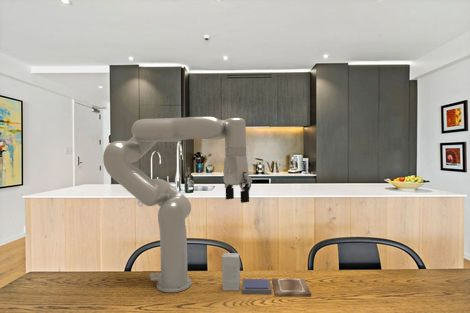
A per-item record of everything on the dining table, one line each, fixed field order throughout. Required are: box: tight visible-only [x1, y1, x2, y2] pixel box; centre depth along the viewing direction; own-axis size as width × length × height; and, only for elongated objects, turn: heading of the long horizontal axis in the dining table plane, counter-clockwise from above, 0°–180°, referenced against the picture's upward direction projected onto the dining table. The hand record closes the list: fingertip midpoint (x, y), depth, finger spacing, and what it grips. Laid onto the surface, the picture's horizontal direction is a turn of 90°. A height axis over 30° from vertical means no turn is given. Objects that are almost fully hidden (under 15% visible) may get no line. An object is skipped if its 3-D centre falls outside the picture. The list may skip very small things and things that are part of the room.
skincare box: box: [221, 252, 241, 292], centre depth 111 cm, size 6×4×12 cm
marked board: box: [271, 278, 312, 298], centre depth 110 cm, size 12×12×1 cm
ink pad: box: [241, 278, 273, 295], centre depth 111 cm, size 10×9×2 cm
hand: (237, 200), depth 112 cm, fingers open, 9 cm apart
